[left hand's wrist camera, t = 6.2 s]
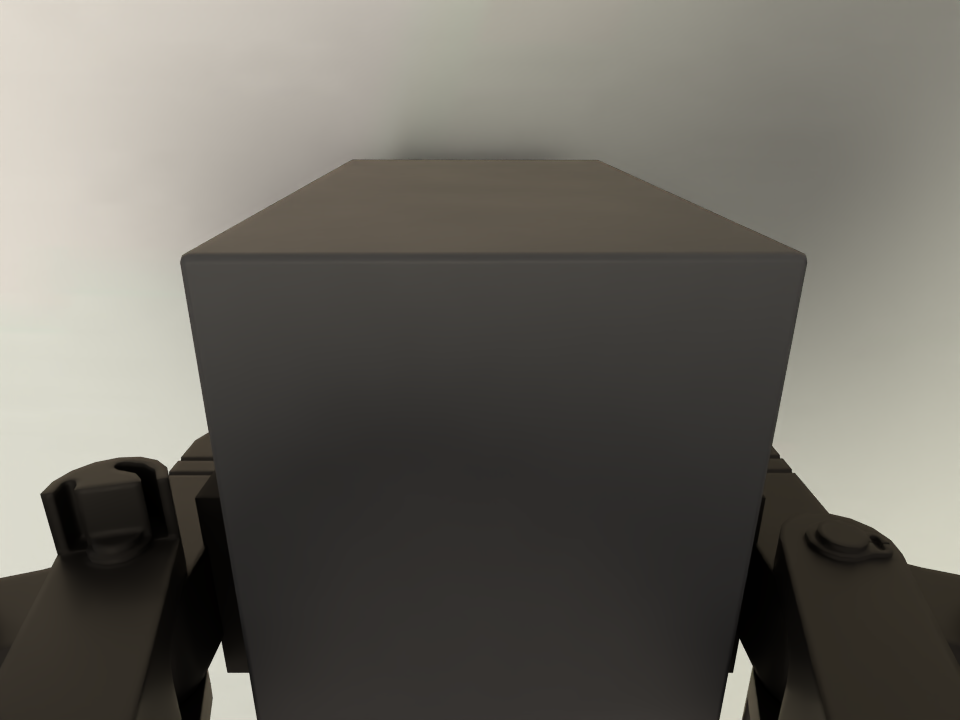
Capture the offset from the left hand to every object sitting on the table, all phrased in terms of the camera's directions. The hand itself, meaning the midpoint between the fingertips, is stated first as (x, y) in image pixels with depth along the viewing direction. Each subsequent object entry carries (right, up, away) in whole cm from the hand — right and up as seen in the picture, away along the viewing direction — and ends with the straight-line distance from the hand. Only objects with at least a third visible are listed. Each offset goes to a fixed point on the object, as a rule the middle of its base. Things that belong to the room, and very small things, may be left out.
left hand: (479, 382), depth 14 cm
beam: (0, -32, +14) cm, 35 cm away
